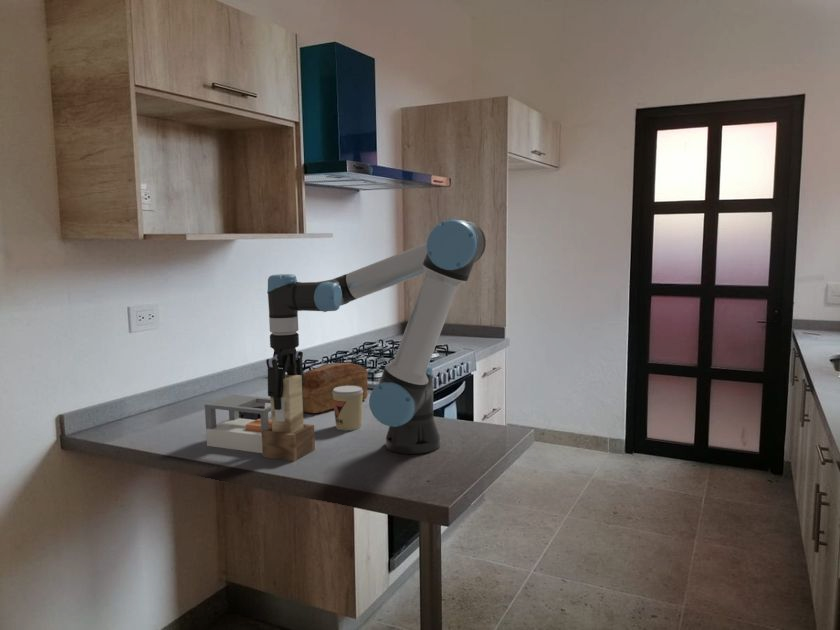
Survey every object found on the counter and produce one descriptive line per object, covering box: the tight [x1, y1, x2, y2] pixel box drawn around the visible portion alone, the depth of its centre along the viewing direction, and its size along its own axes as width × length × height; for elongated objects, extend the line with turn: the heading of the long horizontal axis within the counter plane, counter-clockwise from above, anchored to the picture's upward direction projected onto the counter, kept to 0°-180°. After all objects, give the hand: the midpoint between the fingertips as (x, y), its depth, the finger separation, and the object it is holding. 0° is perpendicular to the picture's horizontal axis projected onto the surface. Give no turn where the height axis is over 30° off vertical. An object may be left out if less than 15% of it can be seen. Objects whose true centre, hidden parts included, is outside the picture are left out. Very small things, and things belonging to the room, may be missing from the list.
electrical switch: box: [239, 402, 266, 420], centre depth 204 cm, size 9×5×9 cm, turn 113°
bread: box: [302, 362, 369, 414], centre depth 229 cm, size 12×28×14 cm, turn 140°
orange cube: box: [246, 419, 272, 432], centre depth 187 cm, size 6×6×6 cm
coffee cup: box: [332, 386, 363, 432], centre depth 203 cm, size 9×9×12 cm
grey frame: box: [204, 394, 271, 454], centre depth 188 cm, size 20×12×12 cm, turn 67°
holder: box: [262, 423, 316, 462], centre depth 179 cm, size 10×10×7 cm
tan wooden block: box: [270, 373, 304, 434], centre depth 178 cm, size 6×6×20 cm
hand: (287, 417), depth 178 cm, fingers closed on tan wooden block, 6 cm apart
